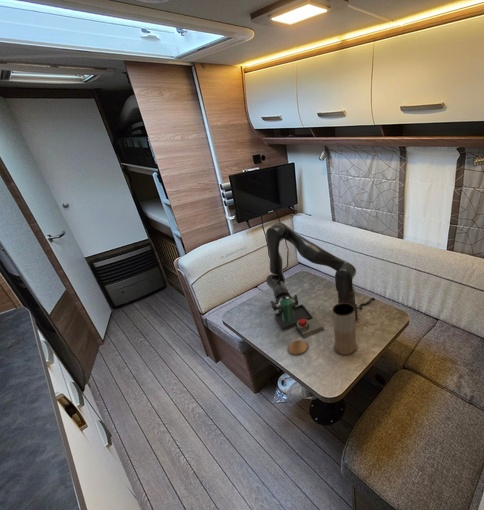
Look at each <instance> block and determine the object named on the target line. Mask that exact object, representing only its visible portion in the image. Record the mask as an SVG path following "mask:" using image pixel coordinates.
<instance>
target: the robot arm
mask: <svg viewBox="0 0 484 510" xmlns="http://www.w3.org/2000/svg"><path fill="white" fill-rule="evenodd" d="M265 237H266V243H267V248H268V249H267V250H268V254H269V255H268V256H269V272H270V273H271V274H268V275H267V276H266V279H265V280H266V284H267V286H268V287H269V288H270V289H271V290H272V292H273V296H274V298H275V301H273V300H271V301H270V307H271V308H272V310H273V311H274V312H276V311H278V313H281V314H282V309H281V306H280V302H281V301H282V300H283V299H291V300H292V301H293V308H294V311H295V310H296V309H297V306H299V299H298V295H297V294H294V295H293V296H292V295H290V292H289V290H288V288H287V287H286V285H285V283H286V277H285V275H284V270H283V262H284V261H283V257H282V254H281V252H280V244H281V242H282V241H283V240H285V241H287V242H289V243H290V244H291V245H293V246H294V248H295V249H296V251H297V252H298V254H299V255H300V256H301V257H302V258H303V259H304V260H307V261H308V262H310V263H311V264H314V265H319V266H324V267H328V268H330V269H333V270H334V271H335V274H334V283H335V289H336V291H337V304H339V303H350V304H352V305H353V306H354V308H355V321H356V320H358V309H360V310H362V306H366V305H369V303H370V302H371V301H372V300H375V299H376V297H371V298H370V299H368V301H367V302H364V303H360V304H359V306H358V304H356V289H355V286H354V283H353V279H354V278H355V277H356V274H357V269H356V267H355V266H354V265H353V264H352V263H350V262H348V261H346V260H344V259H342V258H340V257H338V256H336V255H334V254H332V252H329V251H327V250H325V249H324V248H323V247H321V246H319V245H317V244H316V243H314V242H312V241H311V240H309V239H307V238H305V237H304V236H303V235H301V234H299V233H298V232H297V231H295V230H294V229H292V228H291V227H290V226H288V225H287V224H285V223H284V222H280V221H279V222H275V223H274V224H272V225H271V226H269V227H268V228H267V229H266V232H265Z"/></svg>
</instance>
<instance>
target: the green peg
mask: <svg viewBox="0 0 484 510" xmlns="http://www.w3.org/2000/svg"><path fill="white" fill-rule="evenodd" d="M292 300H293V299H292ZM292 300H291V299H283V300H282V301H281V302H280V306H281V309H282V318H283V321H284V322H291V321H293V320H294V319H295V315H294V308H293V301H294V300H293V301H292Z"/></svg>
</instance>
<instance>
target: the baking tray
mask: <svg viewBox="0 0 484 510" xmlns="http://www.w3.org/2000/svg"><path fill="white" fill-rule="evenodd" d="M296 307H297V309H296V310H295V311H294V315H295V319H294V320H293V321H291V322H284V321H283V318H282V314H281V313H279V312H277V313H275V314H274V317H275V319H276V320H277V322H278V324H279V326H280V327H281V329H282V330H283V331H286V330H287V329H288V330H289V329H290V328H294V327H297V322H298V321H299V320H300V319H306V320H310V319H313V316H312V314H311V312H309V311H308V309H307V308H306V307H305V306H304V304H300V305H299V304H298V305H296Z"/></svg>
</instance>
